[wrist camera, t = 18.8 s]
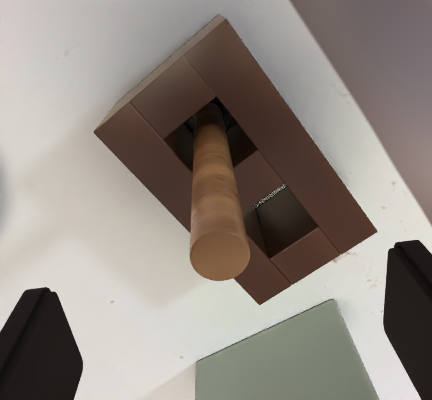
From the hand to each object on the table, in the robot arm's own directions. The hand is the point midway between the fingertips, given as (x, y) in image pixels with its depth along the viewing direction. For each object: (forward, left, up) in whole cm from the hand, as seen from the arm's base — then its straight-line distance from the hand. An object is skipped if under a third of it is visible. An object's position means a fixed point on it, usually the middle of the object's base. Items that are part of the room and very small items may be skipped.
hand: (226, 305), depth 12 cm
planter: (+27, +4, -24) cm, 36 cm away
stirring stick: (+1, 0, -23) cm, 23 cm away
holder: (+3, +2, -23) cm, 24 cm away
